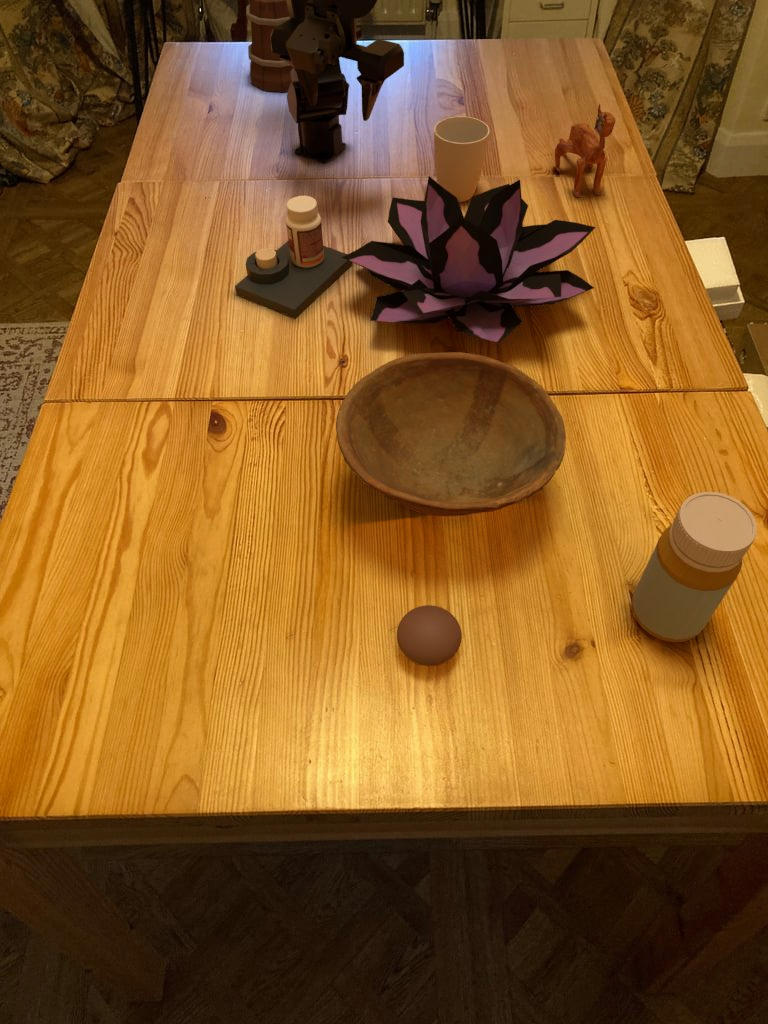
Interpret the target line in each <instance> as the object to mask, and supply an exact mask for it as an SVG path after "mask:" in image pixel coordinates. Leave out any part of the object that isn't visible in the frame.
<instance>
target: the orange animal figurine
mask: <svg viewBox="0 0 768 1024" xmlns="http://www.w3.org/2000/svg"><path fill="white" fill-rule="evenodd" d="M615 124H616V118H615V116H614V115H613V114H612V113H611V112H608V111H602V108H601V103H598V108H597V116H596V119H595V124H594V125H595V126H594V127H593V128H594V130H593V129H592V128H591V126H590V125H589V124H587V123H586V122H585V123H584V122H583V123H582V122H581V123H574V124H572V125H571V127H570V132H569V137H568V139H566V140H565V139H564V138H559V139H558V141H559V142H558V143H557V145H556V147H555V148H554V163H555V169H556V171H557V172H559V173H560V172H561V157H563V156H564V155H566V154H568V153H570V154H575V155H577V156H578V157H579V158H577V159H576V167H577V168H576V174H575V177H574V183H573V195H574V197H576V198H581V197H582V194H581V181H582V178H583V174H584V170H585V167H586V166H587V168H588V169H589V170H593V169H594V165H596V169H595V174H594V178H593V181H592V182H593V184H592V188H593V190H592V191H593V194H594V195H595V196H601V195H602V191H601V188H602V187H601V184H602V179H603V175H604V173H605V168H606V164H607V161H608V158H607V157H606V152H605V150H604V149H605V147H606V138H608V137H610V135H611V134H612V133H613V131H614V127H615ZM597 135H598V136H599V138H598V137H597Z"/></svg>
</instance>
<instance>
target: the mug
mask: <svg viewBox="0 0 768 1024" xmlns="http://www.w3.org/2000/svg"><path fill="white" fill-rule="evenodd" d="M245 15H246V19H247V20H248V21H250V28H251V29H250V30H251V32H250V34H251V44H249V45H248V46H247V47H248V48H247V51H248V52H247V53H248V60H249V61H250V63H249V75H250V83H251V85H253V86H255V87H257V88H259V89H260V90H262V91H265V92H266V91H267V92H277V93H285V92H288V90H289V86H290V83H291V82H292V79H291V69H292V66H291V65H290V64H288V63H287V62H286V61H284V60H281V59H280V57H279V55H280V54H276V53H273V52H272V50H271V41H270V36H271V33H272V31H273V29H274V28H275V27H277V26H279V25H280V24H282V23H284V22H285V21H287V20H289V19H290V17H289V12H288V7H287V2H286V0H249V4H248V5H246V7H245Z"/></svg>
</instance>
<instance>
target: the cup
mask: <svg viewBox="0 0 768 1024" xmlns="http://www.w3.org/2000/svg"><path fill="white" fill-rule="evenodd" d="M489 135H490V127H489V125H487V123H486V122H485V121H483V120H482V119H478V118H475V117H471V116H463V115H461V116H459V115H457V116H450V117H446V118H442V120H441V119H440V120H439V121H437V123H436V124H435V125H434V128H433V144H434V145H433V148H434V155H433V156H434V163H435V165H434V166H435V173H436V181H437V183H438V184H439V185H441V186H442V187H443V188H444V189H446V190H447V191H449V192H450V193H451V194H453V195H454V196H455V197H457V200H458V202H459V203H463V202H467V201H469V200H471V198H472V197H474V194H475V192H476V189H477V188H478V185H479V182H480V179H481V176H482V172H483V168H484V164H485V161H486V155H487V149H488V142H489V138H490V137H489Z"/></svg>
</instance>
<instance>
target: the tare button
mask: <svg viewBox="0 0 768 1024" xmlns="http://www.w3.org/2000/svg"><path fill="white" fill-rule="evenodd" d="M275 250H276V249H274V248H270V247H263V248H260V249H258V250H257V251H255V252H256V254H255V255H256V262H257V266H258V267H259V268H261V269H270V268H273V267H275V266H276V265H277V256H276V252H275Z"/></svg>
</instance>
